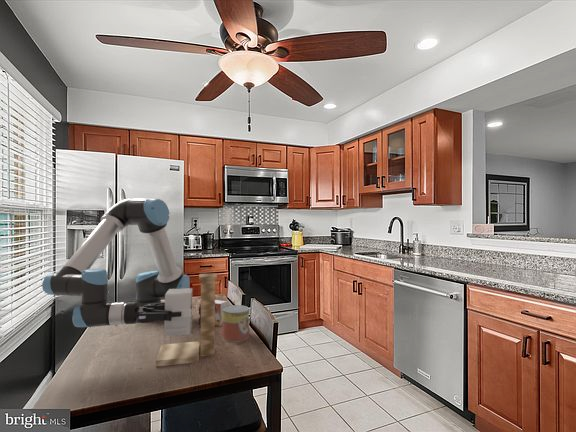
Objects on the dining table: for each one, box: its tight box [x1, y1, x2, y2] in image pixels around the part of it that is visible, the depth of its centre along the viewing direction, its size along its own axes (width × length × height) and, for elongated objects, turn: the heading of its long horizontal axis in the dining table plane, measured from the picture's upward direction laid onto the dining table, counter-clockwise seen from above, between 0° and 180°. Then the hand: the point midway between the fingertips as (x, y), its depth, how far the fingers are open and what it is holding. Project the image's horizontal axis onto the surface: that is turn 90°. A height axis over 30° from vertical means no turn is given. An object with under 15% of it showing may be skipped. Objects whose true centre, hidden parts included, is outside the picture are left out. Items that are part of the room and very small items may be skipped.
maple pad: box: [155, 340, 200, 368], centre depth 116 cm, size 14×14×2 cm
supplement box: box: [163, 287, 194, 337], centre depth 115 cm, size 9×9×15 cm
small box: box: [215, 299, 228, 327], centre depth 151 cm, size 8×6×10 cm
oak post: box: [198, 272, 218, 357], centre depth 118 cm, size 6×6×29 cm
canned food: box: [221, 304, 250, 343], centre depth 134 cm, size 11×11×12 cm
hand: (191, 308), depth 117 cm, fingers closed on supplement box, 9 cm apart
